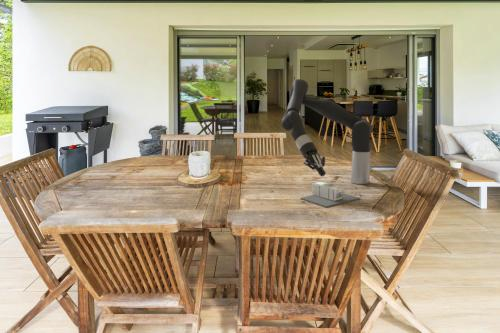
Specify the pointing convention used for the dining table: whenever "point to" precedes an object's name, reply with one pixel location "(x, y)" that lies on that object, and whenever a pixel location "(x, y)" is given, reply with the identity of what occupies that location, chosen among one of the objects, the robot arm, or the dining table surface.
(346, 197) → the charcoal mat
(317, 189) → the syrup box
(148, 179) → the dining table surface
